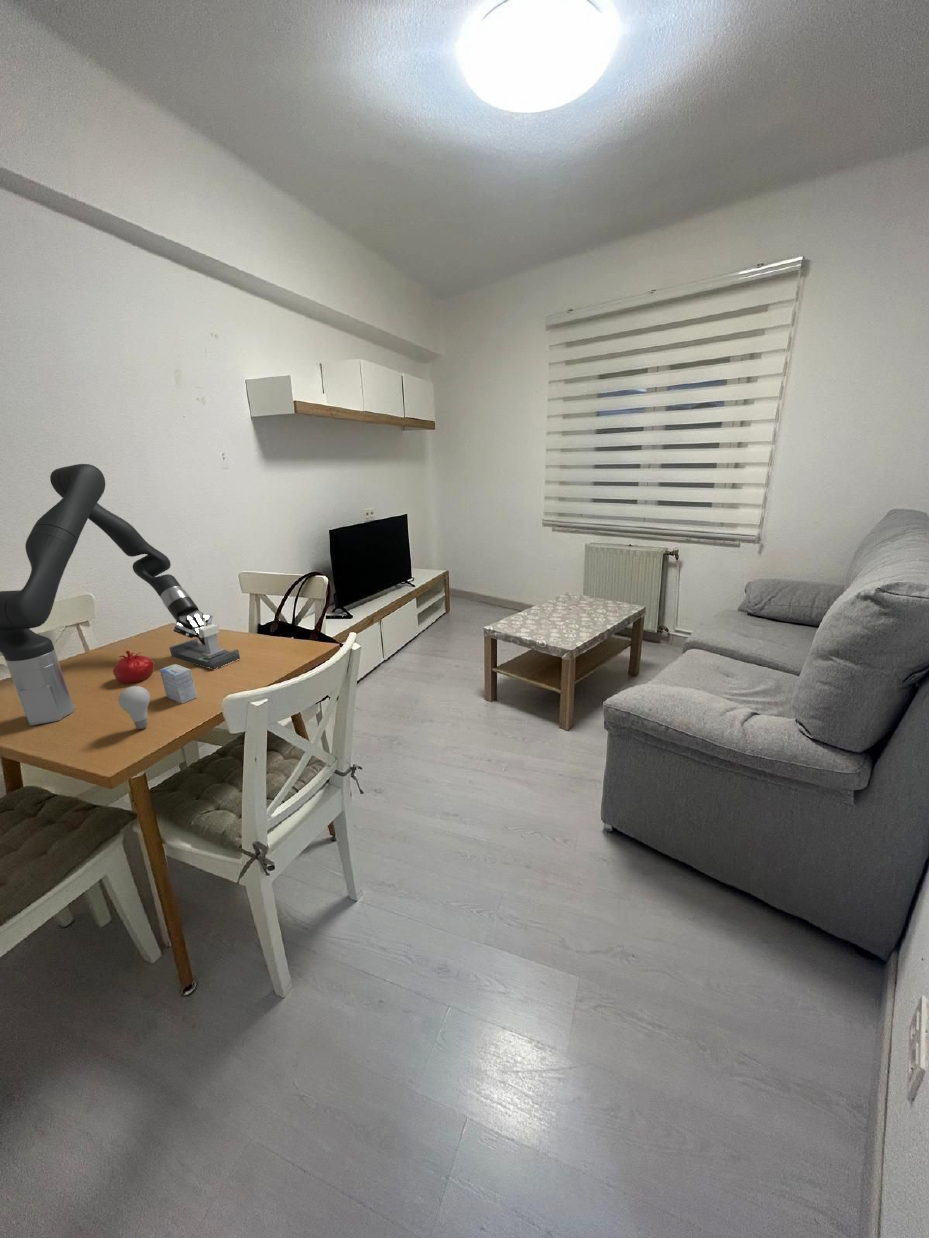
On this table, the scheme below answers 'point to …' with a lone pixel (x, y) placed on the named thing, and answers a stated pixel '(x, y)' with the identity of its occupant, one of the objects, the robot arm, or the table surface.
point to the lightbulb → (136, 704)
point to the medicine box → (178, 683)
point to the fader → (211, 641)
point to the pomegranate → (133, 668)
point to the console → (193, 651)
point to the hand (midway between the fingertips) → (208, 643)
